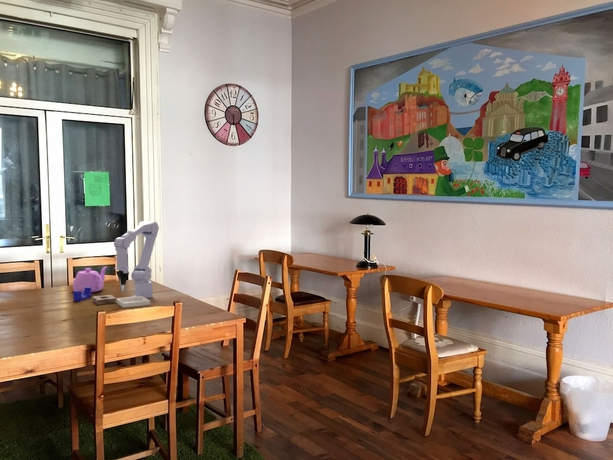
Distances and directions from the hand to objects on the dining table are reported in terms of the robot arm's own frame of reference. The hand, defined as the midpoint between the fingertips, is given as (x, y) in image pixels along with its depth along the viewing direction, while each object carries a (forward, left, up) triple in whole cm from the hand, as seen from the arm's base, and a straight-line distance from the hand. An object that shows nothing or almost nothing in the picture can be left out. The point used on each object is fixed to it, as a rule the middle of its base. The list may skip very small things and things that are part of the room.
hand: (122, 284), depth 291 cm
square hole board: (+8, -8, -10) cm, 15 cm away
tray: (-4, +5, -10) cm, 12 cm away
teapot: (+7, -43, -11) cm, 45 cm away
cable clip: (+17, -21, -11) cm, 29 cm away
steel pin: (0, 0, -3) cm, 3 cm away
